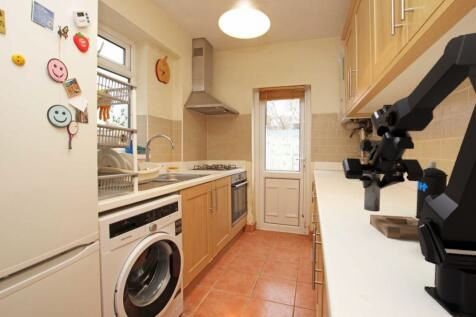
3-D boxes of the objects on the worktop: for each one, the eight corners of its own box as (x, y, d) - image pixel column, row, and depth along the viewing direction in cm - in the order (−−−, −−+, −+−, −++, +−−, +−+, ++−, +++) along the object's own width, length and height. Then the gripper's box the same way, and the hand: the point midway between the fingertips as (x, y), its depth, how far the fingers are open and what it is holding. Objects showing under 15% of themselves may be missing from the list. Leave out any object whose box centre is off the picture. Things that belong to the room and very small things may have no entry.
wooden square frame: (437, 241, 60) (438, 229, 60) (387, 237, 62) (387, 226, 62) (411, 226, 72) (411, 216, 71) (369, 223, 74) (370, 214, 74)
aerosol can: (443, 218, 81) (446, 162, 80) (448, 224, 74) (451, 162, 73) (414, 214, 85) (416, 161, 85) (416, 220, 78) (418, 161, 78)
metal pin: (380, 212, 65) (382, 170, 65) (365, 210, 67) (366, 169, 67) (378, 208, 69) (379, 169, 69) (363, 207, 71) (364, 168, 70)
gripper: (419, 129, 61) (397, 167, 72) (344, 129, 64) (334, 166, 76) (438, 159, 54) (410, 197, 65) (352, 158, 57) (340, 194, 68)
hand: (371, 187), depth 68 cm, fingers closed on metal pin, 4 cm apart
